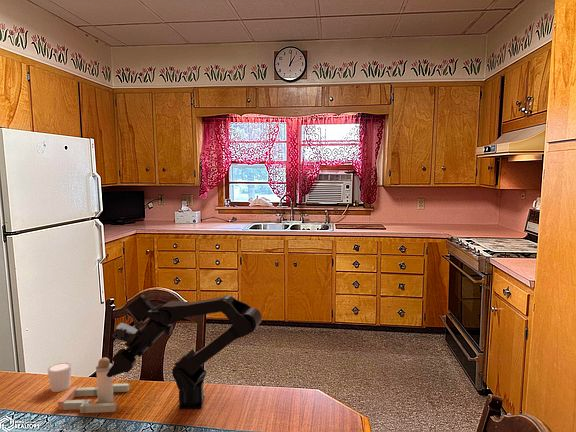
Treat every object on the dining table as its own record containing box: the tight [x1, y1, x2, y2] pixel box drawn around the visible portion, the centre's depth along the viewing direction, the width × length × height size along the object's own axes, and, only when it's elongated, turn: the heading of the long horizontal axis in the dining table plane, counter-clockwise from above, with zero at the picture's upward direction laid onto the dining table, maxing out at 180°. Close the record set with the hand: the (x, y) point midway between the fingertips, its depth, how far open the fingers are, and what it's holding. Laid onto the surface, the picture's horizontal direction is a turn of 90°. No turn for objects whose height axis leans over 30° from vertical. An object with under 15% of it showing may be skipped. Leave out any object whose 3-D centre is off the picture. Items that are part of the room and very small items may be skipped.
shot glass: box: [47, 362, 72, 393], centre depth 133 cm, size 7×7×7 cm
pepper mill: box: [95, 357, 115, 403], centre depth 124 cm, size 5×5×14 cm
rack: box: [57, 383, 130, 414], centre depth 124 cm, size 17×13×2 cm
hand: (113, 368), depth 124 cm, fingers open, 9 cm apart
